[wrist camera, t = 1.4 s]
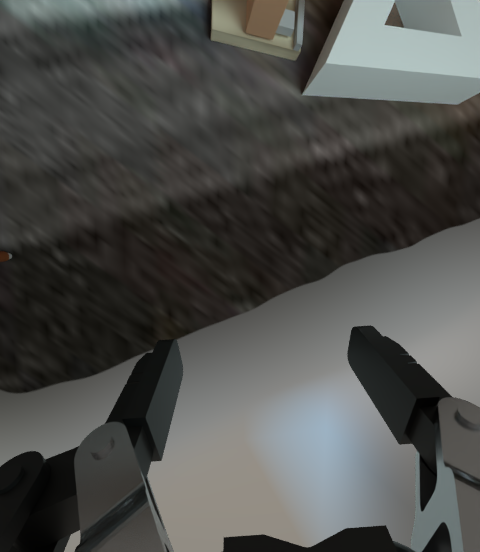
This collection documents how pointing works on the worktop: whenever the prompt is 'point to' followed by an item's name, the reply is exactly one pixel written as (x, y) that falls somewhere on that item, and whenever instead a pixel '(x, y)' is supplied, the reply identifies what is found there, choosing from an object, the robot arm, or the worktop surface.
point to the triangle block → (401, 52)
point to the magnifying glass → (4, 256)
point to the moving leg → (269, 18)
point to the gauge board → (232, 31)
